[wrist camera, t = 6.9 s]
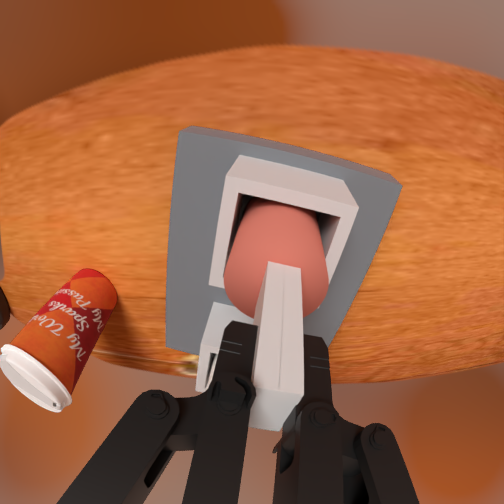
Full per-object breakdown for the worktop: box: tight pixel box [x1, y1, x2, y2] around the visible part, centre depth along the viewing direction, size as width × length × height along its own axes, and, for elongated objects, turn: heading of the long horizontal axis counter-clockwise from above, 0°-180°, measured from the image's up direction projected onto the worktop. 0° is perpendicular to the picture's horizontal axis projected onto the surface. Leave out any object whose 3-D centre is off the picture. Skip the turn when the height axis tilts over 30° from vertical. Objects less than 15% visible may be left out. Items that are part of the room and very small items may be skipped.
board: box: [166, 126, 402, 393], centre depth 24 cm, size 16×22×8 cm
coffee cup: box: [0, 269, 117, 412], centre depth 25 cm, size 8×8×15 cm
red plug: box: [224, 196, 329, 319], centre depth 17 cm, size 5×5×7 cm
